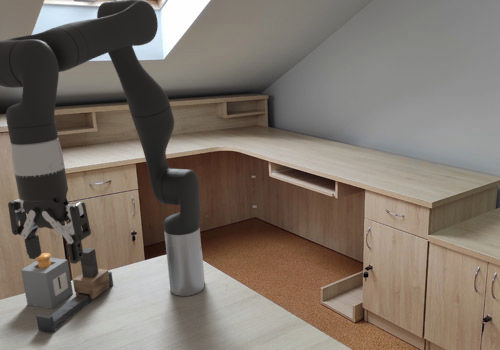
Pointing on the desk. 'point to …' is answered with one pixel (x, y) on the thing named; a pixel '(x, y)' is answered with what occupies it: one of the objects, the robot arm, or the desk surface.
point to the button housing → (47, 283)
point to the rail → (64, 312)
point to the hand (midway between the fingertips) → (55, 259)
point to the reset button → (44, 260)
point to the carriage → (91, 276)
